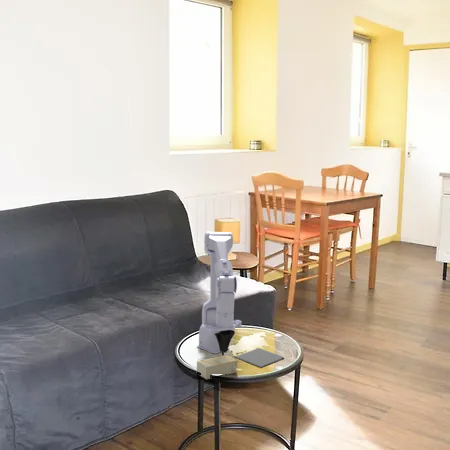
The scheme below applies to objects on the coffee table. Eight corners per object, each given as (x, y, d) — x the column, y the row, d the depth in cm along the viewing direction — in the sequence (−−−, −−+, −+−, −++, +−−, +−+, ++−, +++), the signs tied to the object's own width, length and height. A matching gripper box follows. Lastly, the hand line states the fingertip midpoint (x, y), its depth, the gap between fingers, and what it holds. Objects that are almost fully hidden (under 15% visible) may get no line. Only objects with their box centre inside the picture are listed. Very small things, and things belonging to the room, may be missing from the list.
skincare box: (237, 360, 192) (207, 367, 185) (236, 373, 192) (206, 380, 185) (226, 354, 197) (196, 360, 190) (226, 366, 197) (196, 373, 190)
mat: (235, 357, 205) (235, 356, 205) (258, 349, 214) (258, 348, 214) (260, 367, 197) (260, 366, 197) (284, 358, 206) (284, 357, 206)
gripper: (218, 319, 179) (216, 360, 181) (248, 310, 190) (247, 349, 192) (202, 313, 184) (201, 354, 186) (233, 305, 194) (231, 343, 196)
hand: (223, 351), depth 189 cm, fingers closed
